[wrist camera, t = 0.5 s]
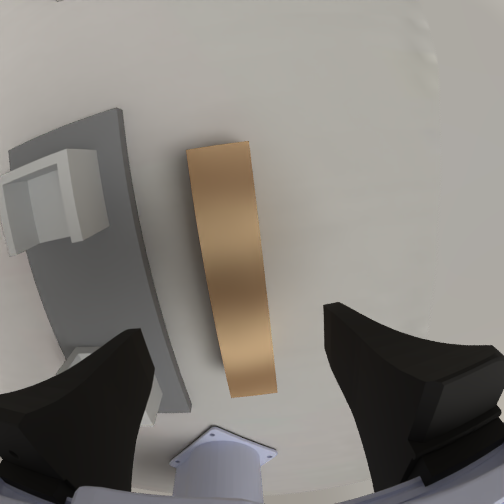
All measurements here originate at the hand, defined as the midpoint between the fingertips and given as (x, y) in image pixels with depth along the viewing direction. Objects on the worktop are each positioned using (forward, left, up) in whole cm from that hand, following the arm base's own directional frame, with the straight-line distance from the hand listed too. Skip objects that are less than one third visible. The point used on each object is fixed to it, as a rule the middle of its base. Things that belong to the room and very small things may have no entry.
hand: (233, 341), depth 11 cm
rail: (0, 0, -10) cm, 10 cm away
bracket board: (-8, +7, -9) cm, 14 cm away
